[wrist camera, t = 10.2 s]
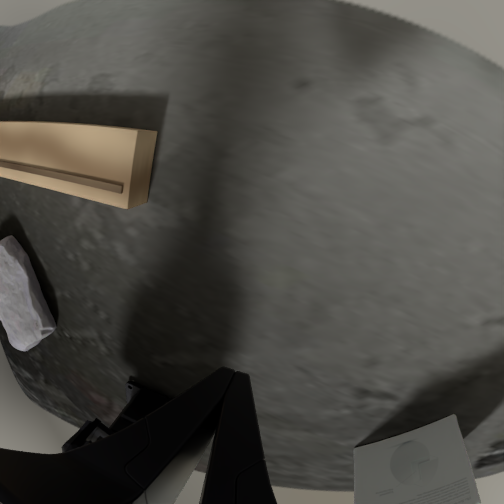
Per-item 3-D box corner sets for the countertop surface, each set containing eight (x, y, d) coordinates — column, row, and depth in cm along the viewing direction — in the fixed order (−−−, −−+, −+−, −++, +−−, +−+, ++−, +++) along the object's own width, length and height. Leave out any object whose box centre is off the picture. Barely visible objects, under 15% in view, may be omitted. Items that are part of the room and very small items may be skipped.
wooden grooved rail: (146, 202, 21) (113, 214, 17) (-23, 163, 24) (-49, 168, 21) (157, 131, 19) (123, 130, 16) (-20, 121, 23) (-47, 124, 19)
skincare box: (367, 474, 26) (365, 554, 16) (352, 446, 25) (349, 540, 15) (458, 445, 22) (476, 523, 13) (456, 411, 21) (482, 502, 11)
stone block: (25, 221, 27) (-12, 264, 29) (-3, 229, 22) (-37, 276, 24) (80, 313, 30) (36, 344, 31) (57, 334, 25) (15, 362, 26)
